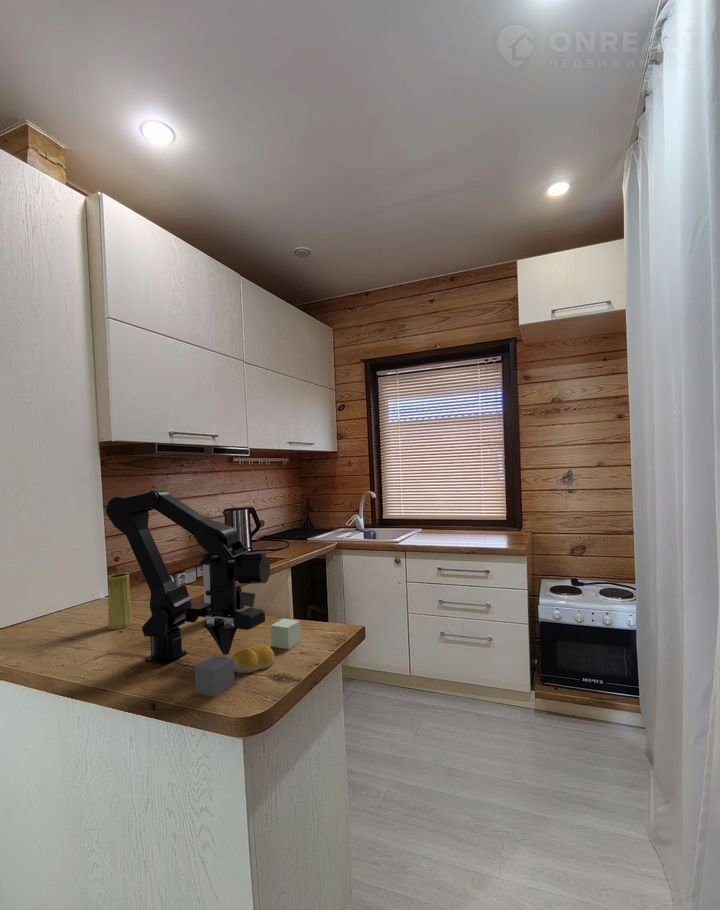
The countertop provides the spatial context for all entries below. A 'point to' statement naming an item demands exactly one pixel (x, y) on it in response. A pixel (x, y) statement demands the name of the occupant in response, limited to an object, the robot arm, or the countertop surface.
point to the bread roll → (252, 658)
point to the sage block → (285, 633)
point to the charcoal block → (214, 675)
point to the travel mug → (206, 582)
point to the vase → (119, 601)
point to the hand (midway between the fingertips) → (226, 654)
